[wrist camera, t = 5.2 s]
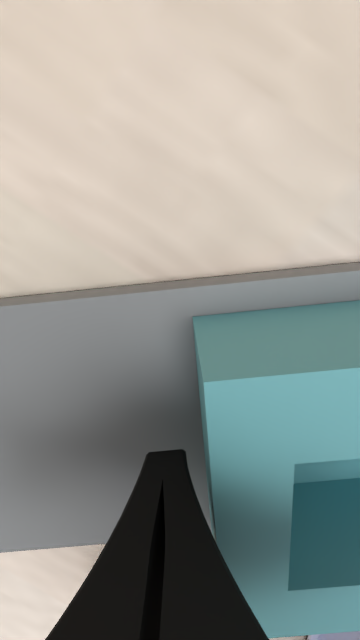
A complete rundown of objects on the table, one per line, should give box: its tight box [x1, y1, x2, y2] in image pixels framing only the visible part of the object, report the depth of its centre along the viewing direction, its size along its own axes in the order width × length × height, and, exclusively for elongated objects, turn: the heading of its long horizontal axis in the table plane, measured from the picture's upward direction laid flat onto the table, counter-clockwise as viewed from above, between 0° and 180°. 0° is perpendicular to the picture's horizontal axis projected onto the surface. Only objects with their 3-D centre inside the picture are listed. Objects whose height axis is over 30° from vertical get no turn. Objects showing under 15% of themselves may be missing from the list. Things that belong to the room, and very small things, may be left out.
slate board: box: [0, 262, 360, 553], centre depth 12 cm, size 12×24×1 cm, turn 96°
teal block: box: [192, 300, 360, 638], centre depth 10 cm, size 10×9×4 cm
